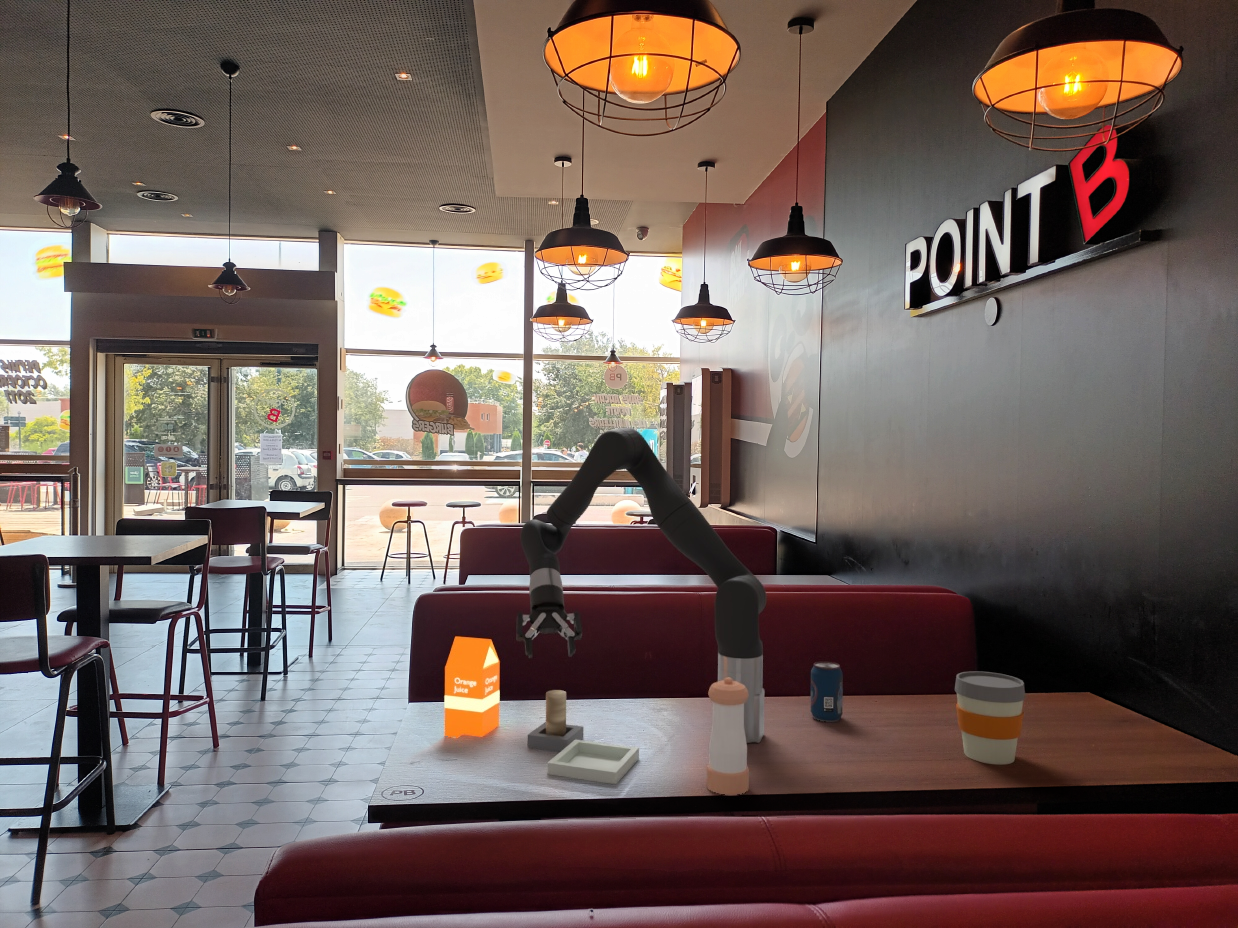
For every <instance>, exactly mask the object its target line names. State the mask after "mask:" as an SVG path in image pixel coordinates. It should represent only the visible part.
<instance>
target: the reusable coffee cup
mask: <svg viewBox="0 0 1238 928" xmlns="http://www.w3.org/2000/svg"><path fill="white" fill-rule="evenodd" d="M955 677H956V678H955V684H954V691H955V693H956V696H957V697H956V699H957V703H956V704H955V707H956V709H955V710H956V716H957V723H958V728H959V729H960V731H961V737H962V738H961V739H962V746H963V752H964V755H965V757H968V758H969V759H971V760H974V761H977V762H980V763H984V764H990V765H1009V764H1012V763H1014V762H1015V759H1016V753H1017V752H1016V751H1017V744H1018V739H1019V737H1021V735H1022V728H1023V720H1024V713H1025V712H1024V711H1023V704H1024V700H1026V690H1025V682H1024V680H1022V679H1020V678H1018V677H1015V676H1012V675H1007V674H1003V673H997V672H990V671H979V670H978V671H974V670H973V671H963V672H960V673H959V672H958V673H957V674H956V676H955Z"/></svg>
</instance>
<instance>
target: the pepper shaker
mask: <svg viewBox="0 0 1238 928" xmlns="http://www.w3.org/2000/svg"><path fill="white" fill-rule="evenodd" d="M707 694H708V697H709V700H710V701H711V702H712V722H711V723H712V724H711V731H710V737H709V744H708V762H709V763H708V764H707V765H706V788H707V789H708V790H709V791H710V790H711V791H710V792H712V791H713V792H712V793H714V792H716V793H715V794H717V793H720V794H719V795H721V794H725V795H724V796H738V795H737V794H740V795H743V794H745V792H746V791H747V792H748V791H749V788H750V787H749V785H750V783H749V778H750V776H749V774H750V773H749V772H750V769H749V767H748V765H747V762H748V761H747V760H748V759H747V757H748V745H747V744H748V743H746V737H745V730H744V703H745V702H746V701H747V699H748V695H749V693H748V690H747V688H746V687H745V686H744V685H743V684H741V683H739V682H736V681H733V679H732V678H730V677H727V678H725V679H724V680H722V681H718V680H717V681H716V682H713V683H711V685H710V686H709V690H708V693H707ZM747 792H746V793H747ZM742 793H743V794H742Z"/></svg>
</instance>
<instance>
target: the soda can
mask: <svg viewBox="0 0 1238 928" xmlns="http://www.w3.org/2000/svg"><path fill="white" fill-rule="evenodd" d="M843 678H844V676H843V672H842V669H841V665H840V664H839V663H837V662H832V661H816V662H814V663H813V667H812V668H811V669H810V713H811V715H812V717H813V718H814V719H815V720H816V719H817V721H819V720H820V722H824V721H826V723H833V722H839V721H840V719H841V718H842V715H843V710H844V709H843V706H844V705H843V702H844V700H843V699H844V698H843V696H844V695H843V693H844V692H843V691H844V687H843V685H844V684H843V681H844V680H843Z"/></svg>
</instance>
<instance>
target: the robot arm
mask: <svg viewBox="0 0 1238 928" xmlns="http://www.w3.org/2000/svg"><path fill="white" fill-rule="evenodd" d="M622 470H626V471H627V473H629V474H630V475H631V476H632V477H633V479H634V480H635V481H636V482H637V483H638V484H639V486H640V488H642V491H643V492H644V494H645V499H646V500H647V504H648V507H649V511H650V514H651V516H652V519H653V521H654V523H655V525H656V526H657V527H658V529H659V530H660V531H661V533H663V535H664V536H665V538H667V540H668V542H670V544H672V545H673V547H675V548H676V549H677V550H678V551H679V552H680V553H681V554H683V555H684V556H685V557H687V559H689V560H690V561H691V562H693V563H694V564H696V565H697V566H698V567H700V568H701V570H703V571H704V572H705V573H706V574H707V575H708V577H709V578H710V580H711V581H712V582H713V584H714V585H715V586H716V588H717V590H716V593H715V598H714V631H715V632H714V634H715V635H714V636H715V640H716V643H717V664H718V665H717V682H718V681H722V680H724V679H725V678H727V677H730V678H732V679H733V681H736V682H739V683H741V684H743V685H744V686H745V687H746V688H747V690H748V693H749V695H748V699H747V701H746V702H745V703H744V730H745V737H746V744H748V743H749V744H750V743H756V744H757V743H759V744H760V742H761V740H762V738H763V736H764V734H765V688H763V675H764V674H763V670H764V669H763V667H764V666H763V664H764V663H763V659H764V658H763V657H764V656H763V653H764V652H763V651H764V648H763V646H764V644H763V641H762V639H761V638H760V631H759V630H760V627H759V626H760V622H759V621H760V620H759V615H760V613H762V612H763V610H764V608H766V605H767V598H768V597H767V592H766V589H765V587H764V585H763V584H762V582H761V581H760V580H759V579H758V577H756V575H754V574H753V573H752V572H751V571H750V569H748V568H747V567H746V566H745V565H744V564H743V563H742V562H741V561H740V560H739V558H737V556H736V555H734V553H732V551H731V550H730V549H729V548H728V546H727V545H726V544H725V542H724V541H723V539H722V538H721V537H720V535H719V534H718V532H716V530H715V529H714V528H713V527H712V525H711V524H710V523H709V521H708V520H707V518H706V517H705V516H704V515H703V513H702V512H701V511H700V510H699V508H698V507H697V506H696V505H695V503H694V502H693V501H692V499H690V498H689V496H688V495H687V494H686V493H685V492H684V490H682V488H681V487H680V486H679V484H678V483H677V482H676V481H675V479H674V478H673V477H672V476H671V475H670V474H669V473H668V471H667V469H665V468H664V466H663V465H662V463H661V461H660V460H659V458H658V456H656V454H655V452H654V451H653V449H652V448H651V445H650V444H649V443H648V442H647V440H646V439H645V438H644V436H643V435H642V434H641V433H640V432H639V431H638V430H636V429H633V428H631V427H630V428H629V427H621V428H612V429H608V430H606V431H604V432H602V434H600V435H599V437H598V438H597V440H596V441H595V443H594V444H593V446H592V447H591V449H590V450H589V453H588V455H587V456H586V458H585V460H584V461H583V463H582V464H581V466H580V467H579V469H578V470H577V472H576V473H575V475H574V476H573V478H572V479H571V481H570V482H569V483H568V484H567V485H566V487H565V488H564V490H563V491H561V493H560V494H559V495H558V497H556V499H555V500H554V501H553V502H552V503H551V504H550V506H549V507H548V509H547V511H546V519H547V521H548V522H549V523H550V524H549V523H547V522H544V521H542V520H539V519H529V520H528V521H526V522H524V524H523V525H522V527H521V531H520V537H519V538H520V543H521V548H522V550H523V552H524V555H525V559H526V560H527V564H528V565H529V567H528V568H529V585H528V586H529V600H530V601H529V603H530V613H529V614H523V612H521V611H519V612H517V614H516V615H517V616H516V634H515V635H516V637H515V639H516V641H517V642H519V643H520V642H523V643H524V649H525V650H524V651H525V656H528V659H532V658H533V654H534V653H533V640H534V639H535V638H536V637H537V636H538V634H539V633H541V634H542V635H545V634H553V635H554V634H557V633H558V634H559V635H560V636H561V637H563V638H564V639H565V640H567V642H566V643H567V650H568V651H567V653H568V657H569V658H571V657H573V655H575V653H576V640H578V641H579V640H581V639H582V636H583V625H582V621H581V615H580V612H579V610H575V611H574V612H573V613H567V612H566V609H565V598H564V587H563V582H562V577H561V570H560V569H561V568H560V560H559V557H558V556H557V553H559V552H561V550H562V548H563V546H564V544H565V541H566V539H567V537H568V535H569V533H570V531H571V529H572V527H573V526H574V525H575V523H576V522H577V521H578V520H579V519H580V518H581V516H583V514H584V513H585V512H586V510H587V509H588V508H589V506H590V505H591V503H592V500H593V498H594V495H595V493H596V491H597V490H598V488H599V487H600V485H601V484H602V483H603V482H604V481H605V480H606V479H608V477H610V476H611V475H613V474H614V473H615V472H617V471H622ZM567 620H568V621H569V622H570V623H571V624H572V625H573V627H574V631H573V630H572V629H571V628H570V626H569V625H568V623H567ZM527 622H529V623H530V624H531V626H530V628H529V629H528V630H527V631H526V633H525V632H523V626H525V625H526V624H527Z"/></svg>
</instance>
